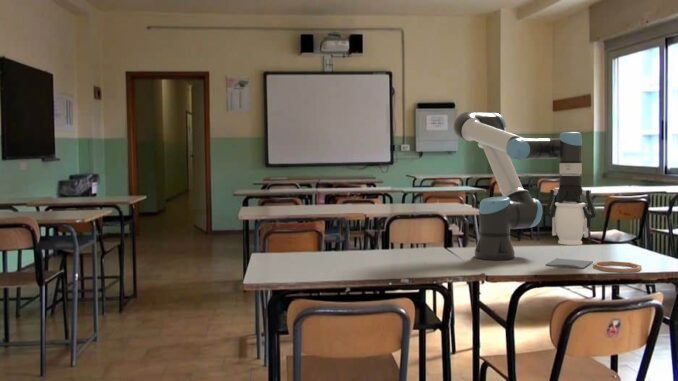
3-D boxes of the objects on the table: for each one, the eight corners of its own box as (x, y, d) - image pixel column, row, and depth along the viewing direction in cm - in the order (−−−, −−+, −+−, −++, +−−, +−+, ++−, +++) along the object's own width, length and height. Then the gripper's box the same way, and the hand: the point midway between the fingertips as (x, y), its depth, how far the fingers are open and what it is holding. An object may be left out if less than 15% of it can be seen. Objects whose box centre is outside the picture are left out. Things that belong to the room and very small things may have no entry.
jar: (548, 242, 228) (548, 202, 227) (572, 241, 231) (572, 201, 230) (567, 246, 218) (567, 204, 217) (591, 245, 221) (592, 203, 220)
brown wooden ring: (590, 269, 214) (590, 266, 214) (599, 263, 226) (599, 260, 226) (636, 273, 206) (636, 270, 206) (643, 266, 218) (643, 263, 218)
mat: (545, 265, 222) (545, 264, 222) (556, 259, 235) (556, 258, 235) (583, 269, 215) (583, 267, 215) (592, 262, 227) (592, 261, 227)
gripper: (535, 175, 226) (535, 235, 227) (602, 175, 214) (601, 239, 215) (541, 174, 233) (541, 233, 234) (606, 174, 220) (606, 236, 221)
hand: (570, 236), depth 224 cm, fingers closed on jar, 10 cm apart
